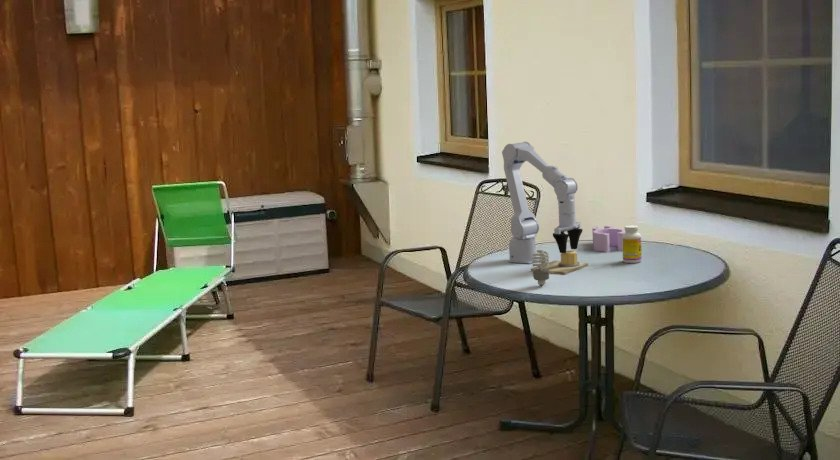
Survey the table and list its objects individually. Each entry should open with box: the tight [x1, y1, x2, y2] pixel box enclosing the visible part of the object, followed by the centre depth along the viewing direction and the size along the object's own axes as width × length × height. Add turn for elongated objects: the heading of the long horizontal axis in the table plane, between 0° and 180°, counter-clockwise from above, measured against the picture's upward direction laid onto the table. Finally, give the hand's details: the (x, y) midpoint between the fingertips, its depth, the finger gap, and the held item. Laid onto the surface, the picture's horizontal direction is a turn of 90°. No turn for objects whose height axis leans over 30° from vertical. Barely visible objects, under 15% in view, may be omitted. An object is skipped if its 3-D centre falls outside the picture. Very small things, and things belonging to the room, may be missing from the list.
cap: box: [560, 250, 578, 265], centre depth 343 cm, size 5×5×4 cm
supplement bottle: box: [622, 224, 643, 264], centre depth 345 cm, size 7×7×13 cm
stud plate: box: [530, 260, 589, 275], centre depth 342 cm, size 14×16×3 cm
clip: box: [592, 225, 625, 253], centre depth 375 cm, size 20×12×7 cm, turn 5°
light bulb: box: [531, 249, 550, 287], centre depth 316 cm, size 6×6×12 cm
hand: (568, 250), depth 342 cm, fingers open, 7 cm apart
